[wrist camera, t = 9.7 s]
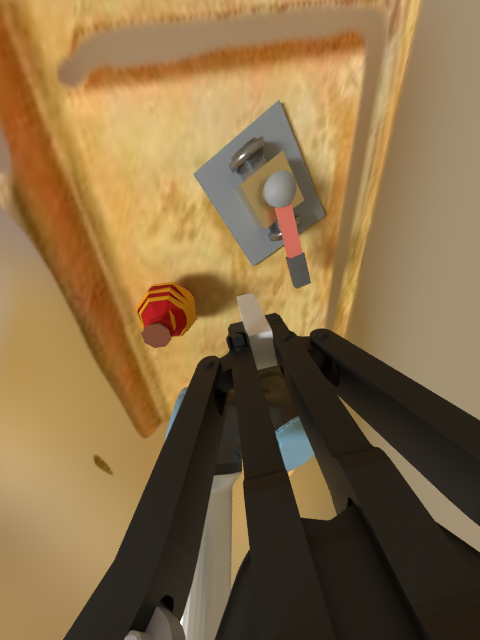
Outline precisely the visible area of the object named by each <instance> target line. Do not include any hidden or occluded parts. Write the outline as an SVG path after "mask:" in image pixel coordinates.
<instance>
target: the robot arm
mask: <svg viewBox="0 0 480 640" xmlns="http://www.w3.org/2000/svg"><path fill="white" fill-rule="evenodd" d="M237 301H238V306H239V310H240V314H241V318H242V322H238V323H234V324H230V326H229V328H228V332H229V335H228V336H227V338H226V340H227V344H228V347H229V350H230V351H229V352H228V354H226V355H225V356H223V357H222V358H220V359H219V358H218V357H216V356H208V357H205V358H203V359H202V360H201V361H200V362H199V363H198V365H197V368H196V370H195V372H194V375H193V377H192V379H191V382H190V384H189V386H188V387H186V388H184V389H183V390H182V391H181V392H180V394H179V396H178V398H177V400H176V403H175V406H174V409H173V412H172V415H171V419H170V422H169V426H168V430H167V434H166V438H165V443H164V445H163V448H162V450H161V452H160V454H159V457H158V459H157V461H156V464H155V466H154V469H153V471H152V474H151V476H150V478H149V480H148V483H147V485H146V487H145V490H144V492H143V494H142V497H141V499H140V501H139V504H138V506H137V509H136V511H135V513H134V515H133V518H132V520H131V523H130V525H129V527H128V530H127V532H126V534H125V537H124V539H123V541H122V544H121V546H120V548H119V551H118V553H117V555H116V558H115V560H114V562H113V563H112V565H111V566H110V568H109V569H108V571H107V572H106V574H105V576H104V577H103V579H102V580H101V582H100V583H99V585H98V587H97V588H96V590H95V591H94V593H93V594H92V596H91V597H90V599H89V600H88V602H87V603H86V605H85V607H84V608H83V610H82V611H81V613H80V614H79V616H78V617H77V619H76V620H75V622H74V624H73V625H72V627H71V628H70V630H69V631H68V633H67V634H66V636H65V638H64V639H63V640H480V552H478V551H477V550H476V549H474V548H473V547H471V546H470V545H468V544H467V543H466V542H464V541H463V540H461V539H460V538H458V537H457V536H456V535H454V534H453V533H451V532H450V531H448V530H447V529H446V528H444V527H443V526H441V525H440V524H438V523H437V522H435V521H434V519H433V518H432V517H431V515H430V514H429V512H428V511H427V510H426V508H425V507H424V506H423V504H422V503H421V501H420V500H419V498H418V497H417V496H416V494H415V493H414V492H413V490H412V489H411V487H410V486H409V485H408V483H407V482H406V481H405V479H404V478H403V476H402V475H401V473H400V472H399V471H398V469H397V468H396V466H395V465H394V464H393V462H392V461H391V460H390V458H389V457H388V456H387V455H386V453H385V452H384V451H383V450H381V449H380V448H378V447H374V446H372V445H371V444H370V443H369V441H368V440H367V438H366V437H365V435H364V434H363V432H362V431H361V430H360V428H359V427H358V425H357V424H356V422H355V421H354V419H353V418H352V416H351V415H350V413H349V412H348V410H347V409H346V407H345V406H344V405H343V403H342V402H341V400H340V399H339V397H341V398H342V399H343V400H344V401H345V402H346V403H347V404H348V405H349V406H350V407H351V408H352V409H353V410H354V411H355V412H356V413H358V414H359V415H360V416H361V417H362V418H363V419H364V420H365V421H366V422H367V423H368V424H369V425H370V426H371V427H372V428H373V429H375V431H377V432H378V433H379V434H380V435H381V436H382V437H383V438H384V439H385V440H386V441H387V442H388V443H389V444H390V445H391V446H392V447H393V448H395V449H396V450H397V451H398V452H399V453H400V454H401V455H402V456H403V457H404V458H405V459H406V460H407V461H408V462H409V463H410V464H412V465H413V466H414V467H415V468H416V469H417V470H418V471H419V472H420V473H421V474H422V475H423V476H424V477H425V478H427V480H429V481H430V482H431V483H432V484H433V485H434V486H435V487H436V488H437V489H438V490H439V491H440V492H441V493H442V494H443V495H445V496H446V497H447V498H448V499H449V500H450V501H451V502H452V503H453V504H454V505H456V506H457V507H458V508H459V509H460V510H461V511H462V512H463V513H464V514H466V515H467V516H468V517H469V518H470V519H472V520H473V521H474V522H475V523H477V524H478V525H479V526H480V420H478V419H477V418H475V417H473V416H472V415H470V414H468V413H467V412H465V411H463V410H462V409H460V408H458V407H457V406H455V405H453V404H452V403H450V402H448V401H447V400H445V399H443V398H442V397H440V396H438V395H437V394H435V393H433V392H432V391H430V390H428V389H427V388H425V387H424V386H422V385H420V384H419V383H417V382H415V381H413V380H412V379H410V378H408V377H407V376H405V375H404V374H402V373H400V372H399V371H397V370H395V369H394V368H392V367H390V366H388V365H387V364H385V363H384V362H382V361H380V360H379V359H377V358H375V357H374V356H372V355H370V354H369V353H367V352H365V351H364V350H362V349H360V348H359V347H357V346H356V345H354V344H352V343H350V342H349V341H347V340H346V339H344V338H342V337H341V336H339V335H337V334H336V333H334V332H332V331H330V330H328V329H316V330H313V331H312V332H311V333H310V336H305V337H301V336H297V335H296V334H295V333H294V332H292V331H289V329H288V328H287V326H286V324H285V323H284V321H283V320H282V318H281V317H280V315H278V314H276V313H273V314H269V315H265V316H264V314H263V312H262V310H261V308H260V306H259V304H258V302H257V300H256V298H255V296H254V294H253V293H249V294H245V295H241V296H237ZM337 395H338V396H339V397H338V396H337ZM314 454H315V457H316V459H317V461H318V464H319V466H320V469H321V471H322V473H323V476H324V478H325V480H326V483H327V485H328V488H329V490H330V493H331V496H332V500H333V504H334V507H335V510H336V513H337V516H336V517H334V518H333V519H331V520H328V521H327V520H317V519H308V518H300V515H299V511H298V507H297V504H296V500H295V497H294V494H293V490H292V487H291V483H290V480H289V476H288V473H287V472H288V471H291V470H293V469H295V468H297V467H299V466H301V465H302V464H304V463H306V462H307V461H308V460H309V459H310V458H311V457H312V456H313V455H314ZM242 459H243V467H244V481H243V489H244V500H245V509H246V517H247V527H248V536H249V545H250V550H249V551H248V553H247V554H246V556H245V558H244V560H243V562H242V564H241V566H240V568H239V570H238V573H237V575H236V578H235V581H234V584H233V587H232V590H231V548H232V546H231V543H232V487H233V484H234V483H235V481H236V480H237V479H238V477H239V476H240V475H241V473H242Z"/></svg>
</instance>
